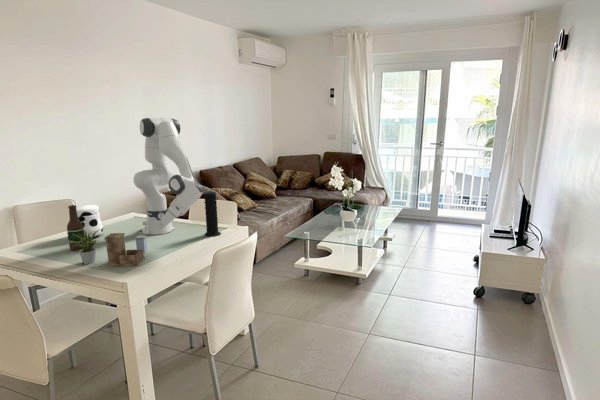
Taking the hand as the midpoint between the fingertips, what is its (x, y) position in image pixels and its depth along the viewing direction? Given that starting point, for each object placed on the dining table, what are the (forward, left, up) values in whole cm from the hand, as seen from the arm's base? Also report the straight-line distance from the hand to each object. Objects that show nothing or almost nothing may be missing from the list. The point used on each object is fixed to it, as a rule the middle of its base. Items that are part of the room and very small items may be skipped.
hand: (161, 226), depth 200 cm
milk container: (-54, -27, -14) cm, 62 cm away
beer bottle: (-33, -35, -14) cm, 50 cm away
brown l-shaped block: (+6, -20, -13) cm, 25 cm away
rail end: (-6, -9, -13) cm, 17 cm away
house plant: (-7, -33, -14) cm, 37 cm away
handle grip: (-10, +33, -14) cm, 37 cm away
